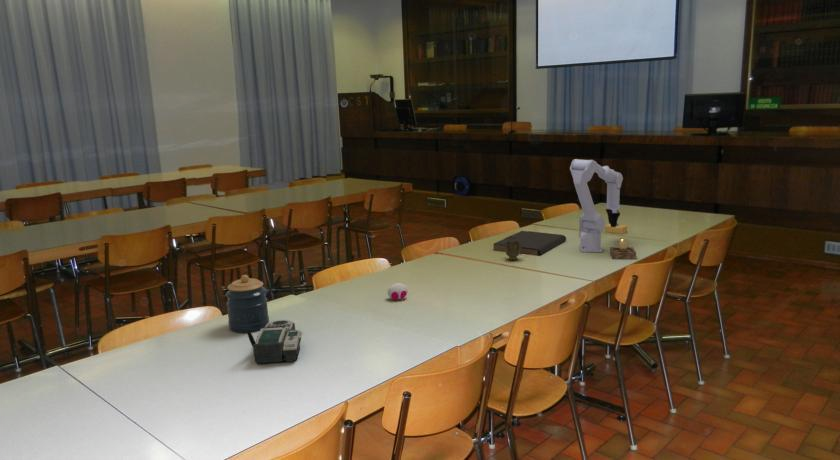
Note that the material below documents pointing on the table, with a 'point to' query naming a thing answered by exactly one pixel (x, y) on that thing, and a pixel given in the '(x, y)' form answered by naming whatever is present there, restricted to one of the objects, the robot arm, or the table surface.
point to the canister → (247, 305)
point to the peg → (622, 244)
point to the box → (622, 253)
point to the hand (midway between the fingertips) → (612, 225)
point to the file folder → (532, 242)
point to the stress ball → (397, 291)
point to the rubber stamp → (616, 228)
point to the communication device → (276, 342)
